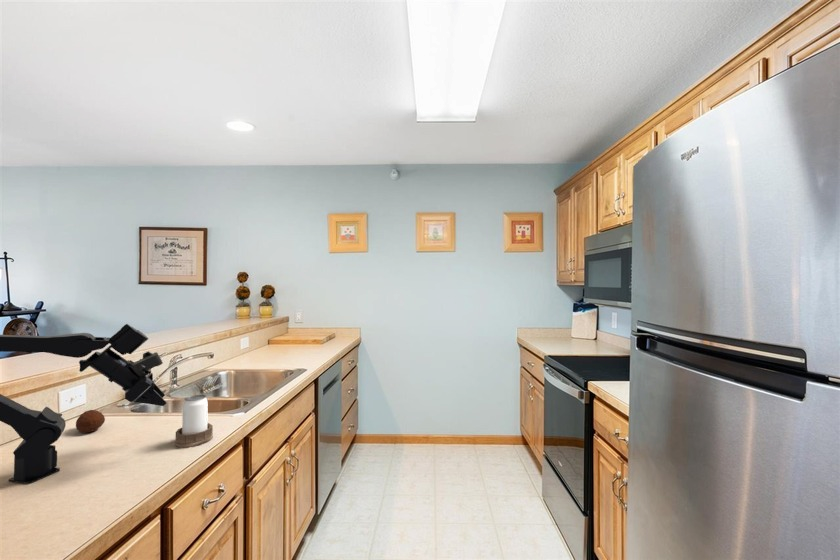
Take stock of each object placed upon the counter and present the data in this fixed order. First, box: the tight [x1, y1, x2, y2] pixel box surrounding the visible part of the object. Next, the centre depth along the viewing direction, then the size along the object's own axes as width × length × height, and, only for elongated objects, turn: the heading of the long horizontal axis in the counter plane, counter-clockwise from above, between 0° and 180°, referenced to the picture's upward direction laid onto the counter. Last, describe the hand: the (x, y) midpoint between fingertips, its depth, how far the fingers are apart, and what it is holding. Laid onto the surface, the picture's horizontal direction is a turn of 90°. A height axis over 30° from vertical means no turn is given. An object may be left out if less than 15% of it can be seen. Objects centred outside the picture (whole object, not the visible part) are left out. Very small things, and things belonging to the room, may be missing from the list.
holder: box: [174, 422, 214, 449], centre depth 108 cm, size 10×10×4 cm
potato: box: [75, 409, 106, 434], centre depth 115 cm, size 7×9×6 cm
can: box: [181, 394, 209, 435], centre depth 108 cm, size 6×6×12 cm
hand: (164, 400), depth 104 cm, fingers open, 9 cm apart
